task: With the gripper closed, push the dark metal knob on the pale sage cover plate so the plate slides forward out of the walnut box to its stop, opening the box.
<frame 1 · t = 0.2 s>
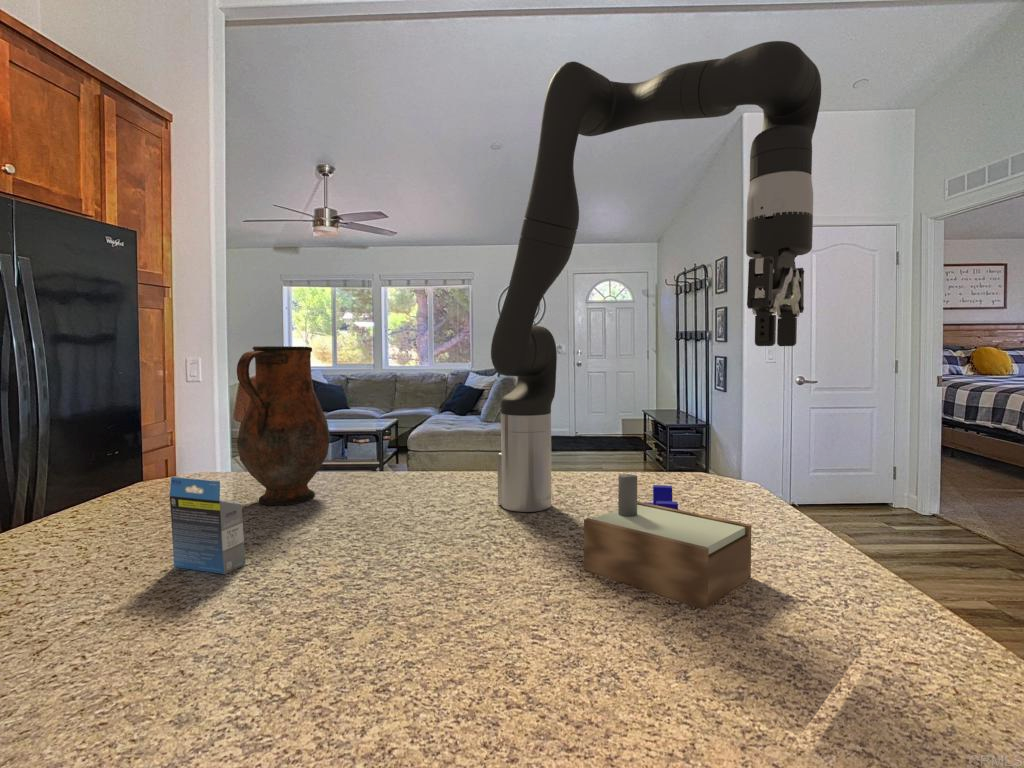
hand: (776, 346, 72), 29 cm above the countertop, fingers open, 8 cm apart
blue curved stepped block: (659, 532, 90), on the countertop
pitcher: (280, 502, 109), on the countertop
cover plate: (666, 506, 69), point 9 cm above the countertop, slide at 0.0 cm
label tape box: (209, 568, 75), on the countertop
walnut box: (665, 579, 70), on the countertop
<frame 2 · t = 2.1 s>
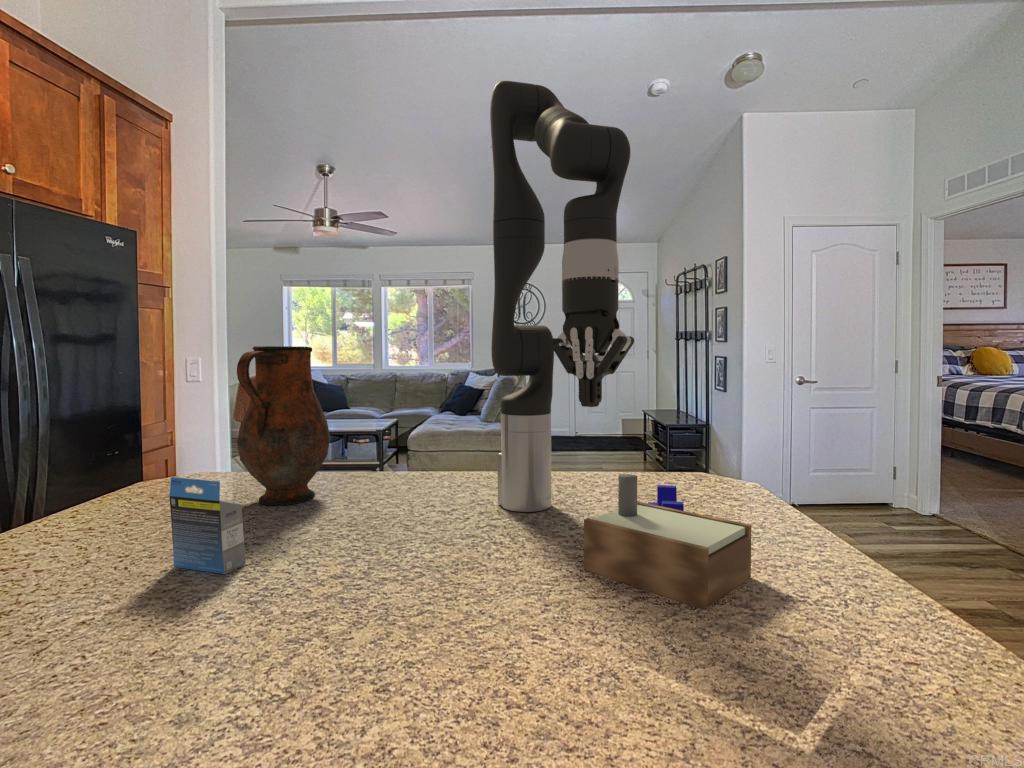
hand: (590, 406, 77), 21 cm above the countertop, fingers closed
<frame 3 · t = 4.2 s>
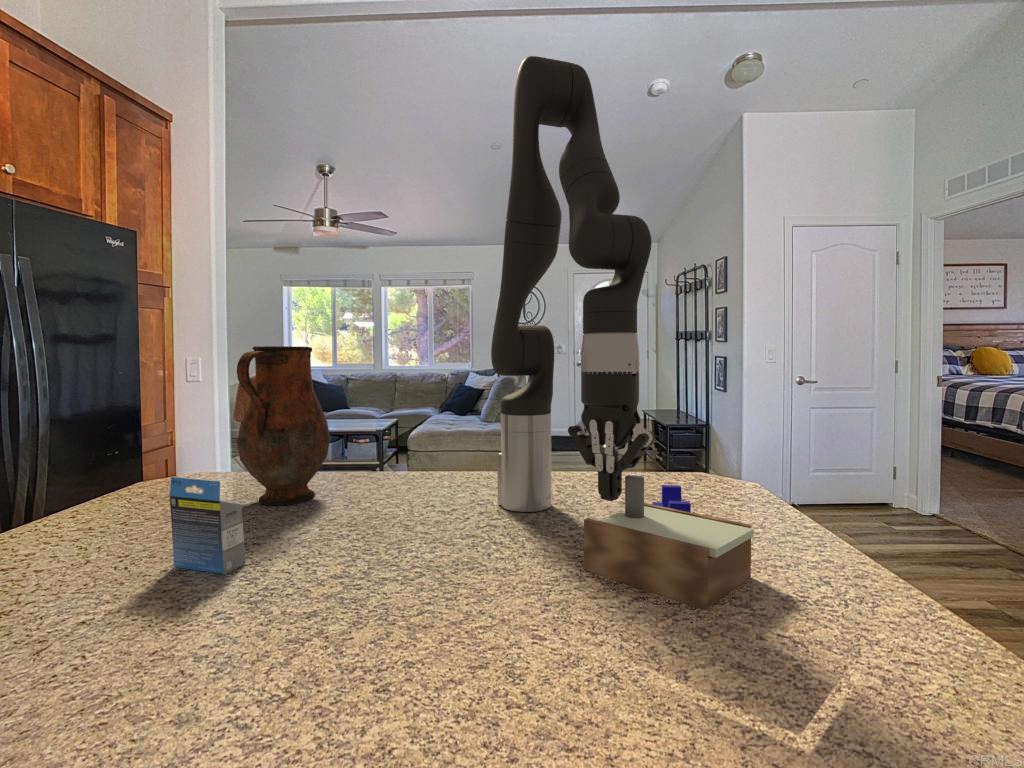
hand: (609, 499, 75), 9 cm above the countertop, fingers closed
cover plate: (673, 507, 69), point 9 cm above the countertop, slide at 1.0 cm, touching gripper
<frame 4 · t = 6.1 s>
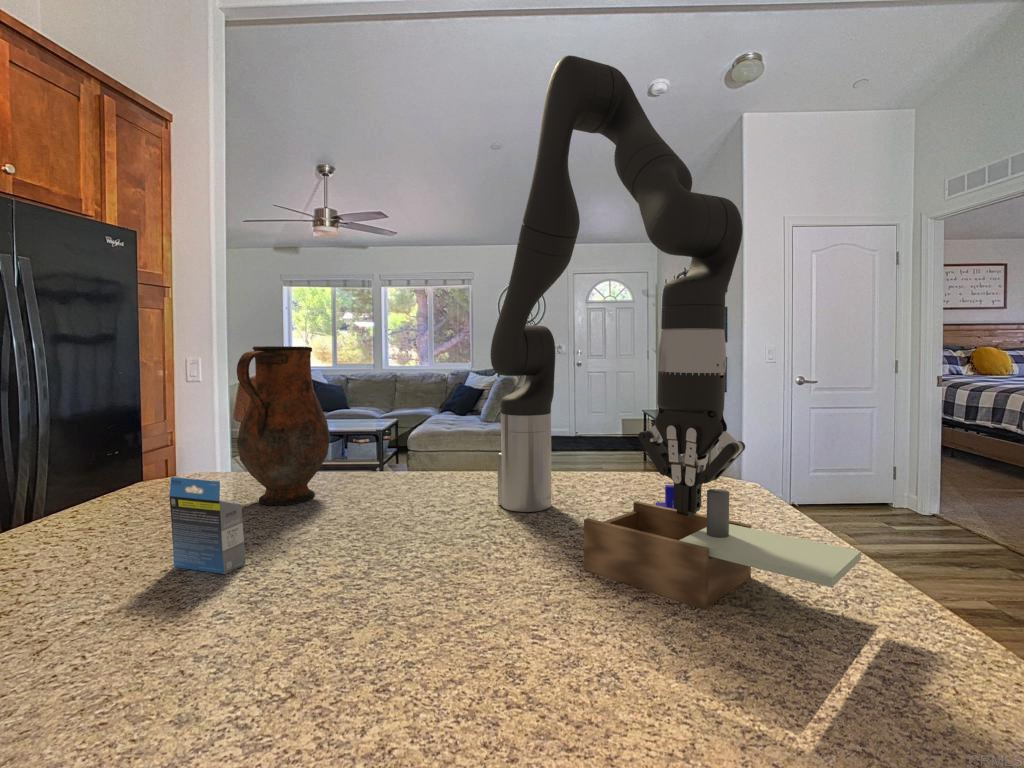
hand: (687, 514, 67), 9 cm above the countertop, fingers closed
cover plate: (767, 526, 61), point 9 cm above the countertop, slide at 12.1 cm, touching gripper
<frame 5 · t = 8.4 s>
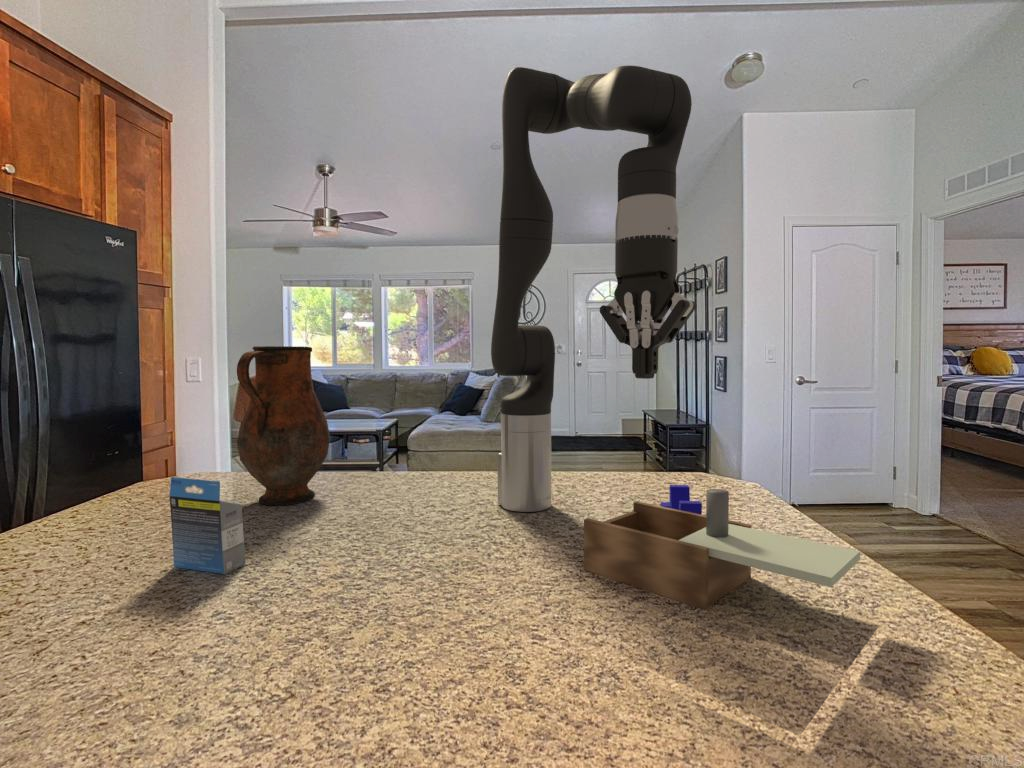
hand: (645, 378, 71), 25 cm above the countertop, fingers closed
cover plate: (766, 526, 61), point 9 cm above the countertop, slide at 12.0 cm
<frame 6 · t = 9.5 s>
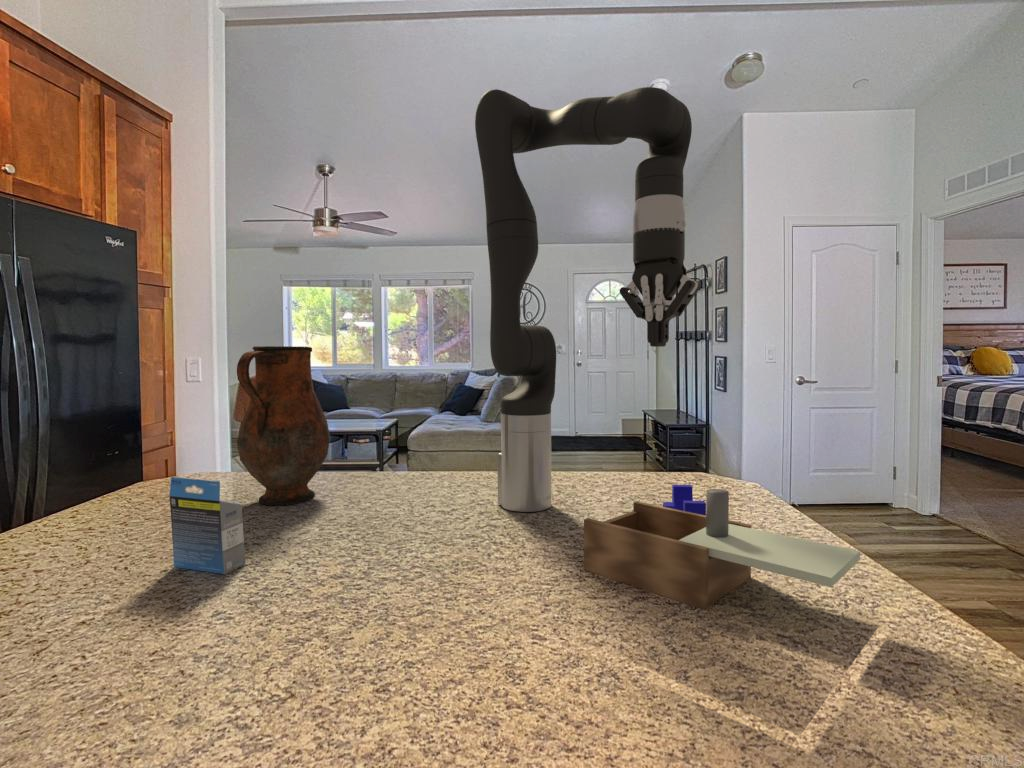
hand: (658, 346, 86), 29 cm above the countertop, fingers closed
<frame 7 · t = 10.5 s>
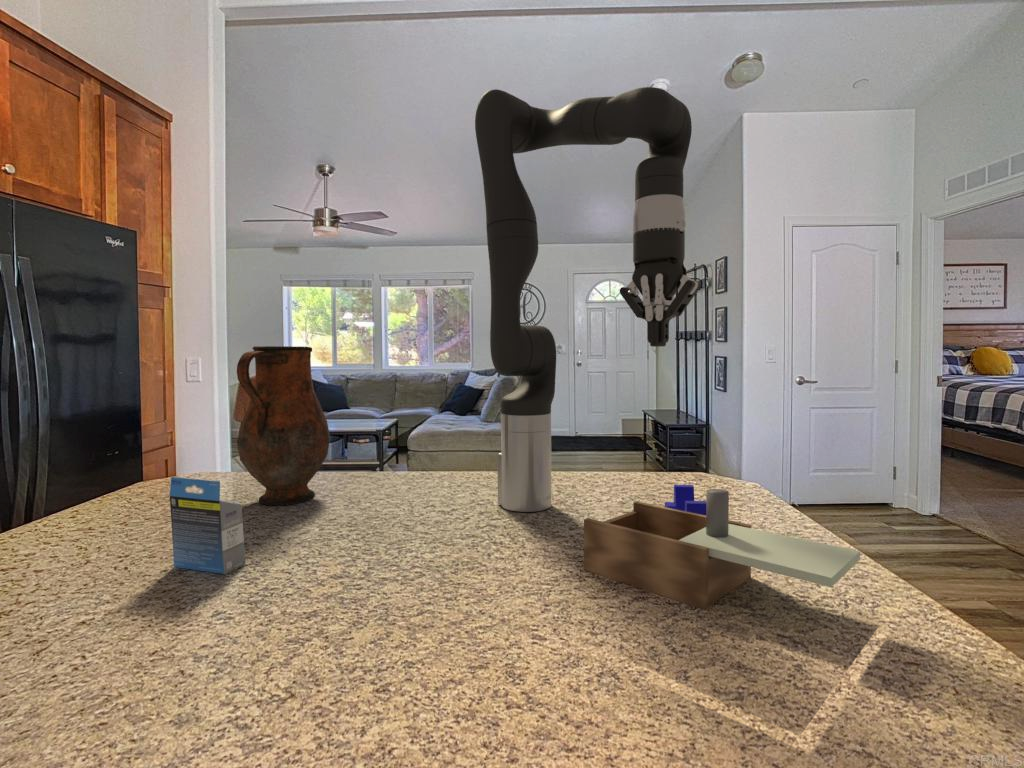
hand: (658, 346, 86), 29 cm above the countertop, fingers closed
at the end: cover plate slide at 12.0 cm; the gripper is holding nothing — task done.
